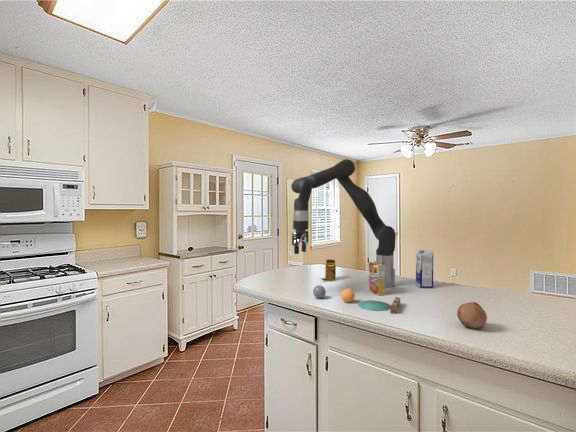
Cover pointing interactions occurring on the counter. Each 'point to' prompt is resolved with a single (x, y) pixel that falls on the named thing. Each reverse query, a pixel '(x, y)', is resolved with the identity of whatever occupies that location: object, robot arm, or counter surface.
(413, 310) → the counter surface
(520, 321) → the counter surface
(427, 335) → the counter surface
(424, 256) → the milk carton
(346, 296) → the orange ball
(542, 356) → the counter surface
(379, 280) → the candy box
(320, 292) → the gray ball
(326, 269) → the condiment
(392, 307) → the stop bar
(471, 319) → the brown oval lump
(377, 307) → the teal mark
